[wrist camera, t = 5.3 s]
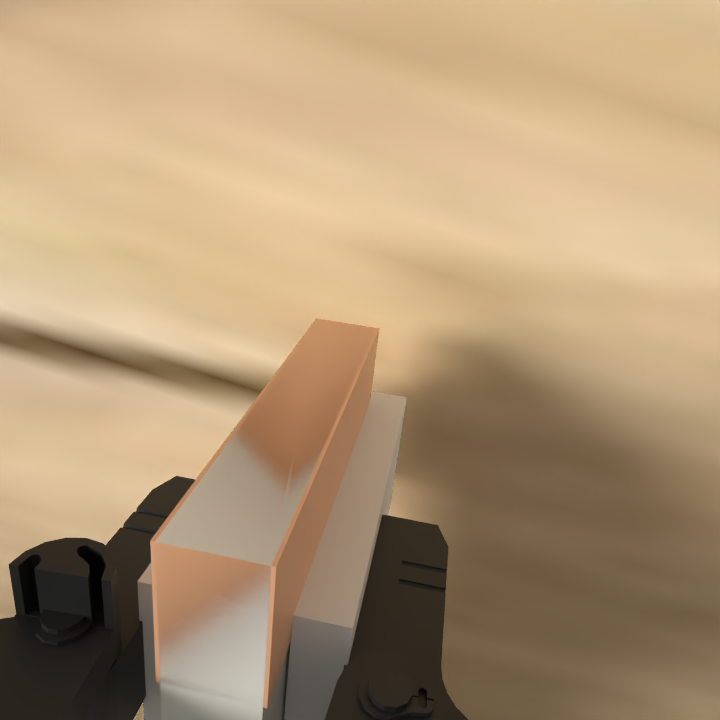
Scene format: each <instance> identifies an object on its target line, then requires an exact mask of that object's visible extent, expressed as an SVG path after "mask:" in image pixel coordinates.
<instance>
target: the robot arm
mask: <svg viewBox="0 0 720 720" xmlns="http://www.w3.org/2000/svg"><path fill="white" fill-rule="evenodd" d="M406 400H407V397H403V396H397V395H391V394H385V393H380V392H374V391H373V393H372V396H371V399H370V403H369V406H368V408H367V411H366V414H365V417H364V420H363V422H362V425H361V428H360V431H359V434H358V436H357V439H356V442H355V445H354V448H353V450H352V453H351V456H350V459H349V462H348V464H347V467H346V470H345V473H344V476H343V478H342V481H341V484H340V487H339V490H338V492H337V495H336V498H335V501H334V504H333V506H332V509H331V512H330V515H329V518H328V520H327V523H326V526H325V529H324V532H323V534H322V537H321V540H320V543H319V546H318V548H317V551H316V554H315V557H314V560H313V562H312V565H311V568H310V571H309V574H308V576H307V579H306V582H305V585H304V588H303V590H302V593H301V596H300V599H299V602H298V604H297V607H296V610H295V613H294V616H293V628H292V638H291V643H290V655H289V667H288V679H287V691H286V703H285V715H284V720H468V719H467V718H466V717H465V716H464V715H463V714H462V713H461V712H460V711H459V710H458V709H457V708H456V706H455V705H454V703H453V702H452V700H451V699H450V697H449V695H448V694H447V691H446V689H445V686H444V683H443V680H442V672H441V658H442V641H443V625H444V608H445V589H446V575H447V574H446V571H447V558H448V546H447V543H446V541H445V539H444V537H443V535H442V533H441V531H440V529H439V527H438V525H433V524H428V523H423V522H418V521H413V520H408V519H403V518H398V517H393V516H388V513H389V508H390V503H391V498H392V492H393V485H394V479H395V472H396V466H397V459H398V453H399V446H400V439H401V433H402V426H403V420H404V413H405V407H406ZM194 481H195V480H194V479H189V478H184V477H179V476H176V477H174V478H172V479H170V480H169V481H167V482H165V483H163V484H162V485H160V486H158V487H157V488H155V489H153V490H152V491H151V492H150V493H149V495H148V496H147V497H146V498H145V499H144V501H143V502H142V503H141V504H140V505H139V506H138V508H137V511H136V512H133V514H132V515H131V516H130V517H129V518H128V519H127V521H126V522H125V523H124V526H123V528H120V529H119V530H118V531H117V533H116V534H115V535H114V536H113V537H112V538H111V540H110V541H109V542H108V543H107V544H106V546H105V545H104V544H103V543H100V542H97V541H94V540H91V539H88V538H63V539H59V540H54V541H49V542H45V543H43V544H40V545H38V546H36V547H34V548H32V549H29V550H27V551H25V552H24V553H22V554H21V555H20V556H19V557H18V558H16V559H15V560H14V561H13V562H11V563H10V564H9V569H10V575H11V582H12V588H13V595H14V601H15V607H16V615H15V616H14V617H12V618H4V619H0V720H133V719H134V717H135V715H136V713H137V711H138V710H139V708H140V706H141V704H142V703H144V720H162V718H161V691H160V683H159V682H156V669H155V645H154V620H153V596H152V571H151V547H150V540H151V539H152V538H153V536H154V535H155V534H156V532H157V531H158V530H159V528H160V527H161V526H162V524H163V523H164V522H165V520H166V519H167V518H168V516H169V515H170V514H171V512H172V511H173V510H174V508H175V507H176V506H177V504H178V503H179V502H180V500H181V499H182V498H183V496H184V495H185V494H186V492H187V491H188V490H189V488H190V487H191V486H192V484H193V483H194Z"/></svg>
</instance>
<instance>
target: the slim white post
mask: <svg viewBox="0 0 720 720" xmlns="http://www.w3.org/2000/svg"><path fill="white" fill-rule="evenodd" d="M378 334H379V328H372V327H366V326H360V325H353V324H347V323H341V322H335V321H328V320H322V319H316V320H315V321H314V322H313V324H312V325H311V326H310V328H309V329H308V330H307V332H306V333H305V334H304V336H303V337H302V338H301V340H300V341H299V342H298V344H297V345H296V346H295V348H294V349H293V350H292V352H291V353H290V355H289V356H288V357H287V359H286V360H285V361H284V363H283V364H282V365H281V367H280V368H279V369H278V371H277V372H276V373H275V375H274V376H273V377H272V379H271V380H270V381H269V383H268V384H267V385H266V387H265V388H264V389H263V391H262V392H261V393H260V395H259V396H258V397H257V399H256V400H255V401H254V403H253V404H252V405H251V407H250V408H249V409H248V411H247V412H246V413H245V415H244V416H243V417H242V419H241V420H240V421H239V423H238V424H237V425H236V427H235V428H234V429H233V431H232V432H231V433H230V435H229V436H228V437H227V439H226V440H225V441H224V443H223V444H222V445H221V447H220V448H219V449H218V451H217V452H216V453H215V455H214V456H213V457H212V459H211V460H210V461H209V463H208V464H207V465H206V467H205V468H204V469H203V471H202V472H201V473H200V475H199V476H198V477H197V479H196V480H195V481H194V483H193V484H192V486H191V487H190V488H189V490H188V491H187V492H186V494H185V495H184V496H183V498H182V499H181V500H180V502H179V503H178V504H177V506H176V507H175V508H174V510H173V511H172V512H171V514H170V515H169V516H168V518H167V519H166V520H165V522H164V523H163V524H162V526H161V527H160V528H159V530H158V531H157V532H156V534H155V535H154V536H153V538H152V539H151V540H150V547H151V571H152V596H153V620H154V645H155V669H156V682H159V683H160V691H161V718H162V720H284V715H285V703H286V691H287V679H288V667H289V655H290V643H291V638H292V628H293V616H294V613H295V610H296V607H297V604H298V602H299V599H300V596H301V593H302V590H303V588H304V585H305V582H306V579H307V576H308V574H309V571H310V568H311V565H312V562H313V560H314V557H315V554H316V551H317V548H318V546H319V543H320V540H321V537H322V534H323V532H324V529H325V526H326V523H327V520H328V518H329V515H330V512H331V509H332V506H333V504H334V501H335V498H336V495H337V492H338V490H339V487H340V484H341V481H342V478H343V476H344V473H345V470H346V467H347V464H348V462H349V459H350V456H351V453H352V450H353V448H354V445H355V442H356V439H357V436H358V434H359V431H360V428H361V425H362V422H363V420H364V417H365V414H366V411H367V408H368V406H369V403H370V398H371V390H372V382H373V374H374V366H375V358H376V350H377V342H378Z"/></svg>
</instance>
